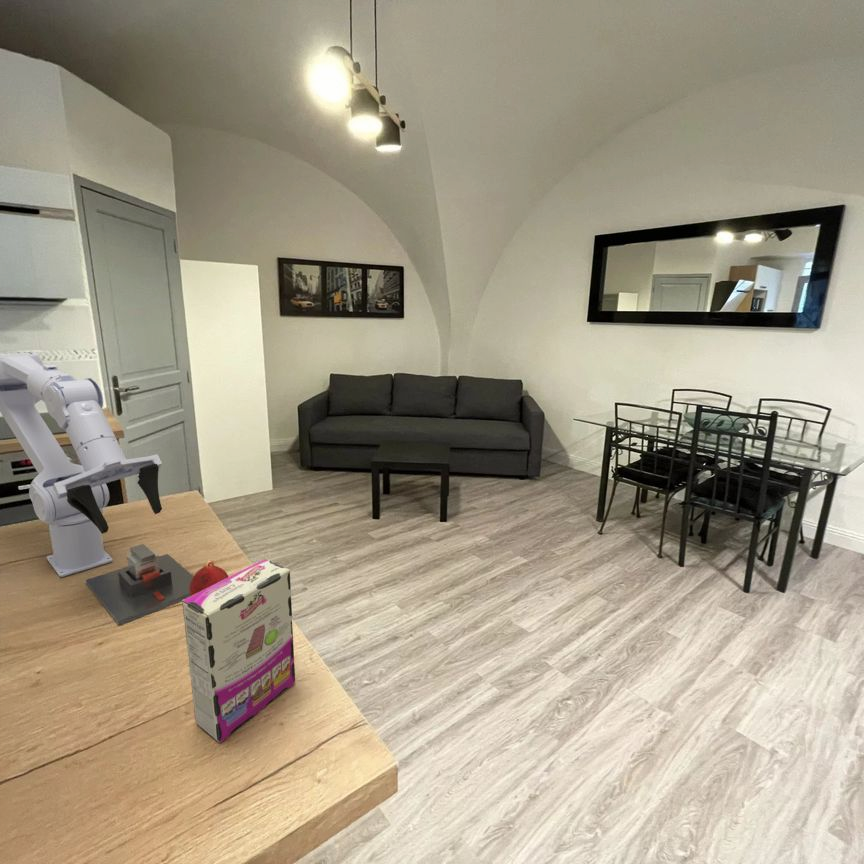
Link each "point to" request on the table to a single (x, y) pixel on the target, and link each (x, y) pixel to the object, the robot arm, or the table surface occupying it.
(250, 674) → the candy bar box
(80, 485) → the robot arm
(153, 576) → the stand
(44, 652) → the table surface
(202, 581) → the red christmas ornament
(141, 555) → the grey block
